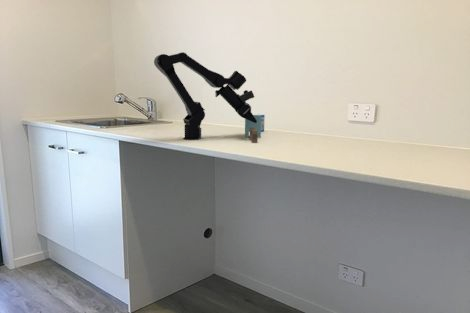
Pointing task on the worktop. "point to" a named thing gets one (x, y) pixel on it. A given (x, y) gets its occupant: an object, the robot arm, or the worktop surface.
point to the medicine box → (262, 123)
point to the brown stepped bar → (253, 135)
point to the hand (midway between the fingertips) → (255, 121)
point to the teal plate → (252, 124)
